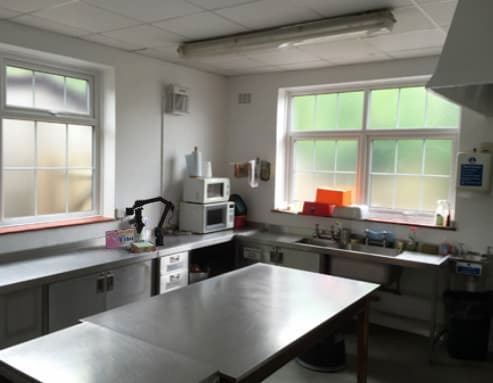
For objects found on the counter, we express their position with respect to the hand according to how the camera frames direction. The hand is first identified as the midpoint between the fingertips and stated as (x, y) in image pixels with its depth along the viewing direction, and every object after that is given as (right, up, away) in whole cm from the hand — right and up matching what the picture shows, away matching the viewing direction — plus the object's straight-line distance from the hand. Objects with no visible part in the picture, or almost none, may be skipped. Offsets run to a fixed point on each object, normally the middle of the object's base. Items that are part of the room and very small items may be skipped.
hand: (138, 233), depth 368 cm
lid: (+6, -8, -11) cm, 15 cm away
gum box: (-16, -11, +4) cm, 20 cm away
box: (+6, -12, -10) cm, 17 cm away
